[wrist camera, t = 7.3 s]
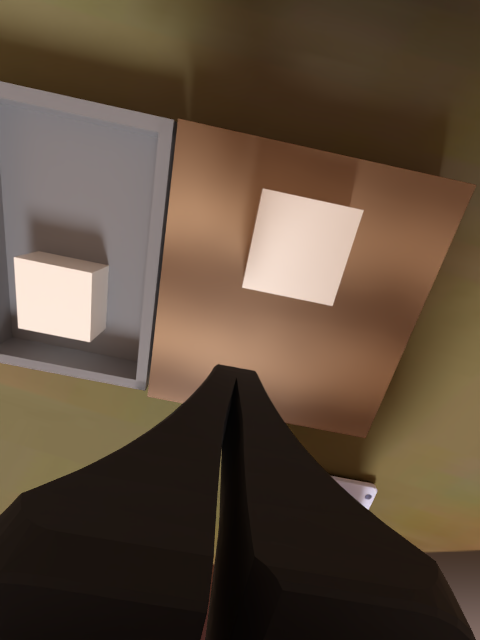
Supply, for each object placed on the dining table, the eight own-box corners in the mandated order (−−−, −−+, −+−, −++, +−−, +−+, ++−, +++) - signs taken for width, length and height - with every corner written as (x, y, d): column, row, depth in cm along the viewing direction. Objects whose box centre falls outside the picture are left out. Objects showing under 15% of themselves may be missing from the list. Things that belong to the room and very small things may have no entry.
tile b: (322, 293, 15) (332, 306, 14) (243, 276, 15) (242, 287, 13) (348, 208, 14) (363, 209, 12) (261, 189, 14) (262, 188, 12)
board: (350, 406, 21) (365, 438, 18) (161, 370, 21) (147, 396, 18) (438, 187, 16) (476, 185, 13) (191, 133, 16) (178, 118, 13)
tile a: (18, 328, 17) (41, 315, 19) (90, 342, 17) (105, 328, 19) (13, 257, 16) (38, 250, 18) (92, 273, 16) (108, 265, 18)
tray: (157, 369, 21) (145, 390, 18) (9, 340, 20) (-23, 358, 18) (185, 131, 16) (174, 119, 13) (-10, 88, 15) (-57, 68, 13)
